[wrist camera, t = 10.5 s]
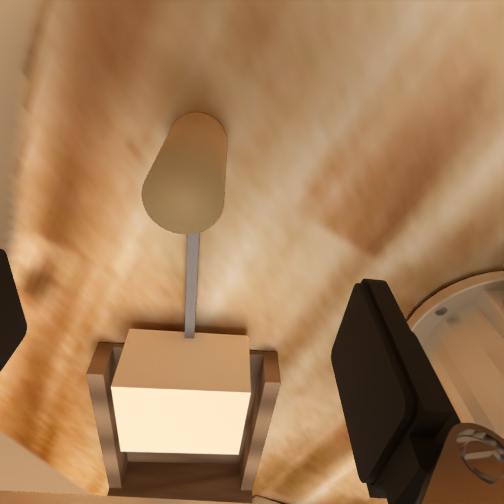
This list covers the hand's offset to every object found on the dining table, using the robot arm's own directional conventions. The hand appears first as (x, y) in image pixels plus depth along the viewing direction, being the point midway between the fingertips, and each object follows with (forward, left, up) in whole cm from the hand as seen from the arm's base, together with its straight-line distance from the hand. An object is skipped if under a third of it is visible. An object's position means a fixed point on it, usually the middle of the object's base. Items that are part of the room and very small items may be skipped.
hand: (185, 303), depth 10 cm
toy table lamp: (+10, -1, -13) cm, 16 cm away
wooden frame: (+26, -1, -13) cm, 29 cm away
